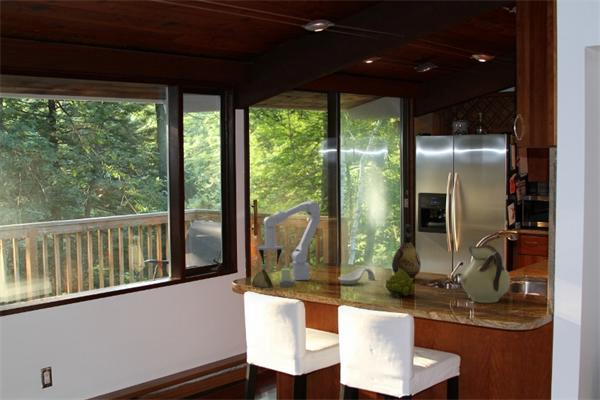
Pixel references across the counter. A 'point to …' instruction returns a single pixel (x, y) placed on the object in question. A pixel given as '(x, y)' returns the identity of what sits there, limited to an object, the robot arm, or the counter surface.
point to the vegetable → (400, 284)
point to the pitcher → (485, 275)
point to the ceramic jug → (407, 256)
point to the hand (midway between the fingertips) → (270, 263)
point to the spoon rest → (355, 276)
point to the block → (286, 274)
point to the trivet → (286, 283)
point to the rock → (262, 279)
